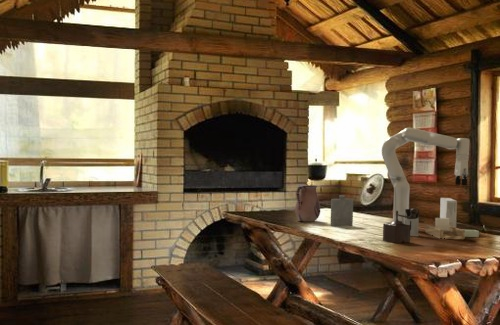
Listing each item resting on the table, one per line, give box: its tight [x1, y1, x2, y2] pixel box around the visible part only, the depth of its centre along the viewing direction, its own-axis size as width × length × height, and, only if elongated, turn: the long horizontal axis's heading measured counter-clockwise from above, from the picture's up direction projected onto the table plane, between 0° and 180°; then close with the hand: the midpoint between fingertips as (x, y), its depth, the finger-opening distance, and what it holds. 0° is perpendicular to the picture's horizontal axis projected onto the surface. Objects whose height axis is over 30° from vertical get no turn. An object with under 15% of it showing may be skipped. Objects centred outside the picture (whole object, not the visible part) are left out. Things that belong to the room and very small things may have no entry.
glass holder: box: [402, 208, 420, 237], centre depth 331 cm, size 9×14×15 cm, turn 131°
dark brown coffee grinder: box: [382, 208, 418, 244], centre depth 304 cm, size 16×11×18 cm
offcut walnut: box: [443, 230, 452, 235], centre depth 329 cm, size 4×4×2 cm
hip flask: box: [329, 194, 354, 227], centre depth 371 cm, size 16×4×20 cm, turn 110°
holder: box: [462, 228, 480, 238], centre depth 337 cm, size 12×8×4 cm, turn 90°
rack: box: [425, 224, 466, 240], centre depth 334 cm, size 14×26×5 cm, turn 0°
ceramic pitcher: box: [294, 184, 321, 223], centre depth 391 cm, size 18×21×25 cm
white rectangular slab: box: [434, 217, 449, 231], centre depth 338 cm, size 8×2×10 cm, turn 90°
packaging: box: [439, 197, 458, 228], centre depth 364 cm, size 30×6×20 cm, turn 168°
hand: (460, 185), depth 355 cm, fingers open, 9 cm apart
